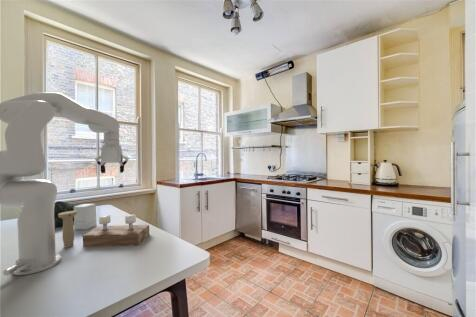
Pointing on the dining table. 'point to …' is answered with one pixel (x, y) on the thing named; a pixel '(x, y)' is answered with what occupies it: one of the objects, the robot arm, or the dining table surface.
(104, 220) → the knob
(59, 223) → the squash
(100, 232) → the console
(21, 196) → the robot arm
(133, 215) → the knob
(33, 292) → the dining table surface
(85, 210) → the supplement box
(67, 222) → the handle
